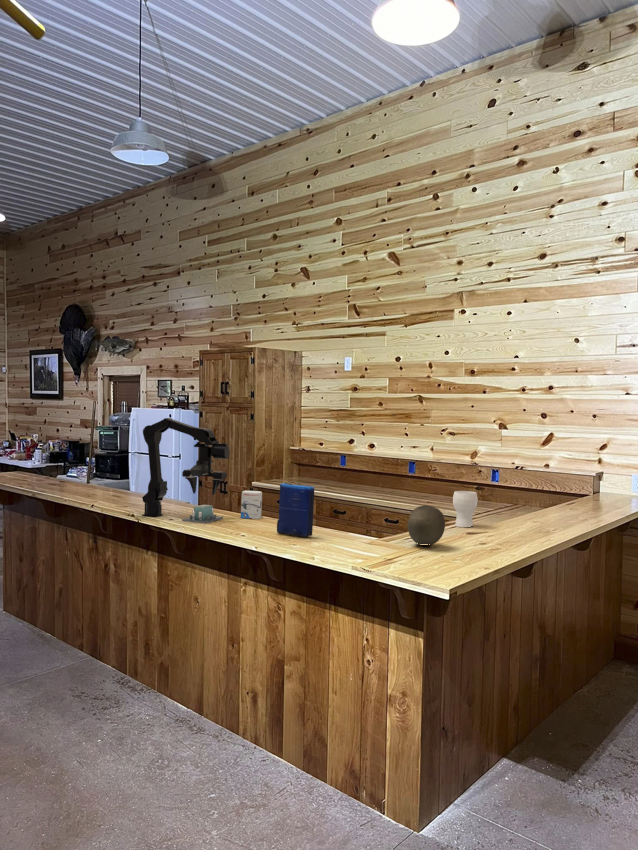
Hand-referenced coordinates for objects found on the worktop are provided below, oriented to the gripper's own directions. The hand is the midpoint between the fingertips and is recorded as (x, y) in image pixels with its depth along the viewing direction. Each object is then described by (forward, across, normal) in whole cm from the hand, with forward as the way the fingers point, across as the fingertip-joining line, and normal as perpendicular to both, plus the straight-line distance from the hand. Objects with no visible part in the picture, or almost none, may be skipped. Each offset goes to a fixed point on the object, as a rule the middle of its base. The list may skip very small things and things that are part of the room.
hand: (203, 494), depth 276 cm
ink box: (+11, +16, +14) cm, 24 cm away
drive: (+10, 0, 0) cm, 10 cm away
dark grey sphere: (+11, +97, -10) cm, 98 cm away
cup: (+11, +106, +41) cm, 114 cm away
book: (+11, +47, -14) cm, 50 cm away
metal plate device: (+11, 0, 0) cm, 11 cm away
